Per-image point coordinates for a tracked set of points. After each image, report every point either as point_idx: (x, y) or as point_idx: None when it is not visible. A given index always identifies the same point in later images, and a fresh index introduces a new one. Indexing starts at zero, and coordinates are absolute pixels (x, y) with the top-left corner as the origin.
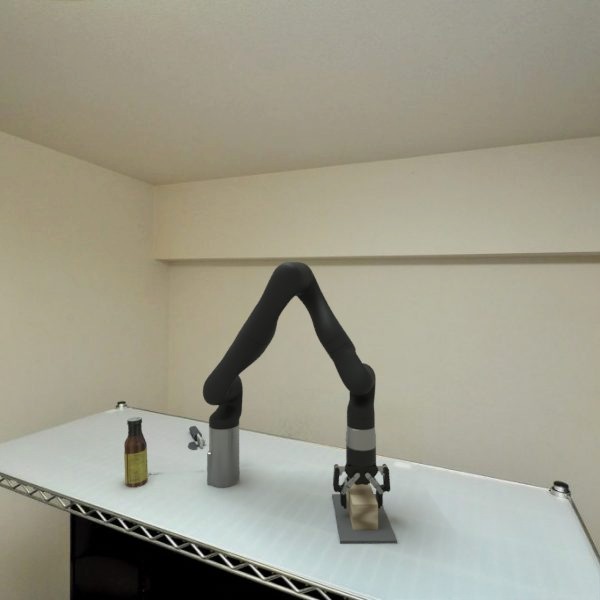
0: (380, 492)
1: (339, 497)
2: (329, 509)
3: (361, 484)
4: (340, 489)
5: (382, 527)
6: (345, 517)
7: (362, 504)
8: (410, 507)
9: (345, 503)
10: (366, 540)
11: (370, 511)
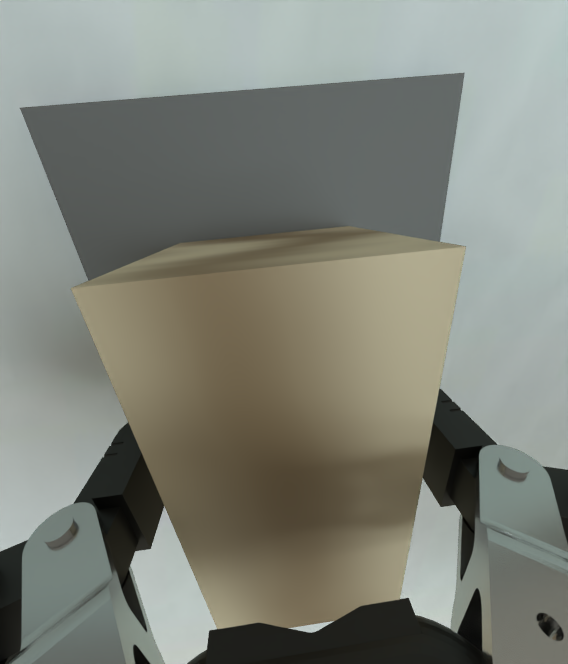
0: (68, 523)
1: None
2: None
3: (283, 588)
4: (555, 497)
5: None
6: None
7: (319, 259)
8: (19, 472)
9: None
10: (266, 92)
11: (211, 255)
